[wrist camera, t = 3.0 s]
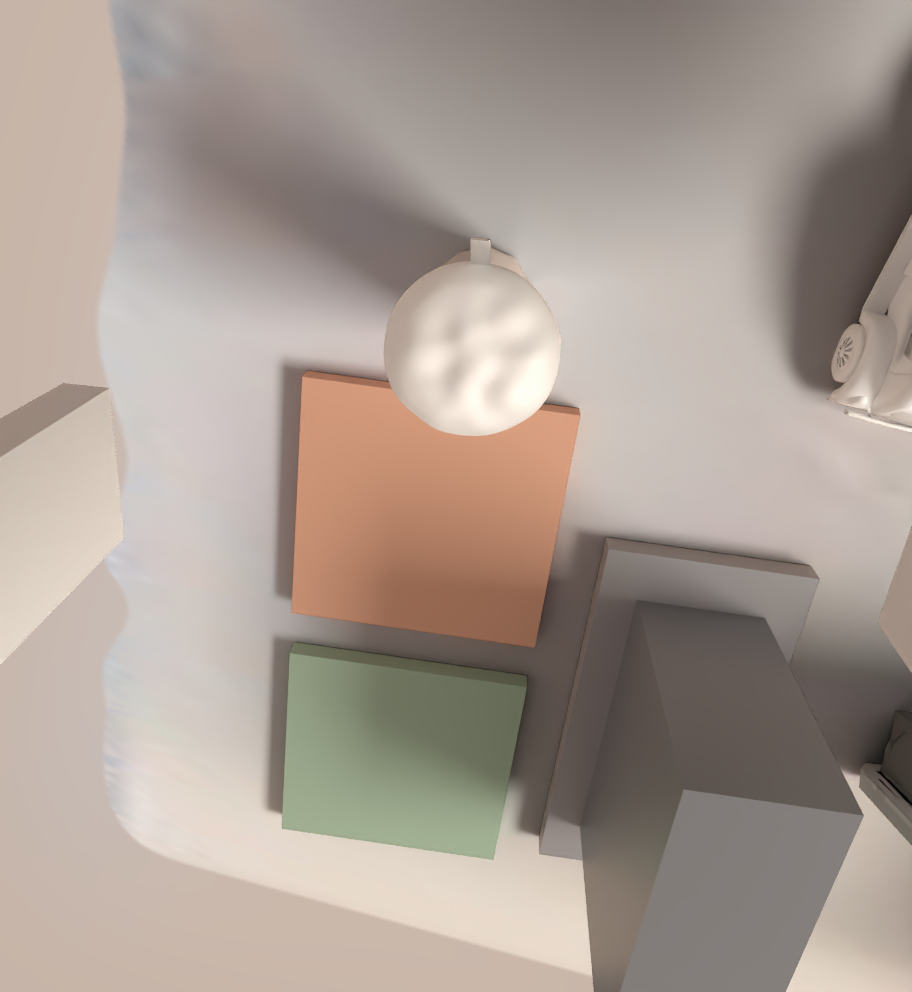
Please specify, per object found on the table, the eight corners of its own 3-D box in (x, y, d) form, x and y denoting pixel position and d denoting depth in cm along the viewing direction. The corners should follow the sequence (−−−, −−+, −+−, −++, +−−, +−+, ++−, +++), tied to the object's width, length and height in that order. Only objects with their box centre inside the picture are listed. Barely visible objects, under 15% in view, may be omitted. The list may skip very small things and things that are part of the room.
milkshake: (562, 207, 27) (584, 249, 18) (539, 365, 29) (549, 473, 20) (425, 193, 27) (378, 227, 18) (413, 351, 29) (366, 452, 20)
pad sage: (294, 642, 35) (289, 653, 34) (526, 675, 35) (527, 687, 34) (286, 815, 39) (281, 828, 38) (493, 846, 39) (493, 859, 38)
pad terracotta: (307, 370, 30) (302, 376, 29) (578, 408, 30) (580, 415, 29) (296, 602, 34) (291, 612, 33) (534, 636, 34) (534, 647, 33)
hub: (606, 537, 32) (645, 724, 22) (811, 566, 32) (944, 768, 22) (538, 836, 39) (545, 1085, 29) (708, 861, 38) (774, 1120, 28)
